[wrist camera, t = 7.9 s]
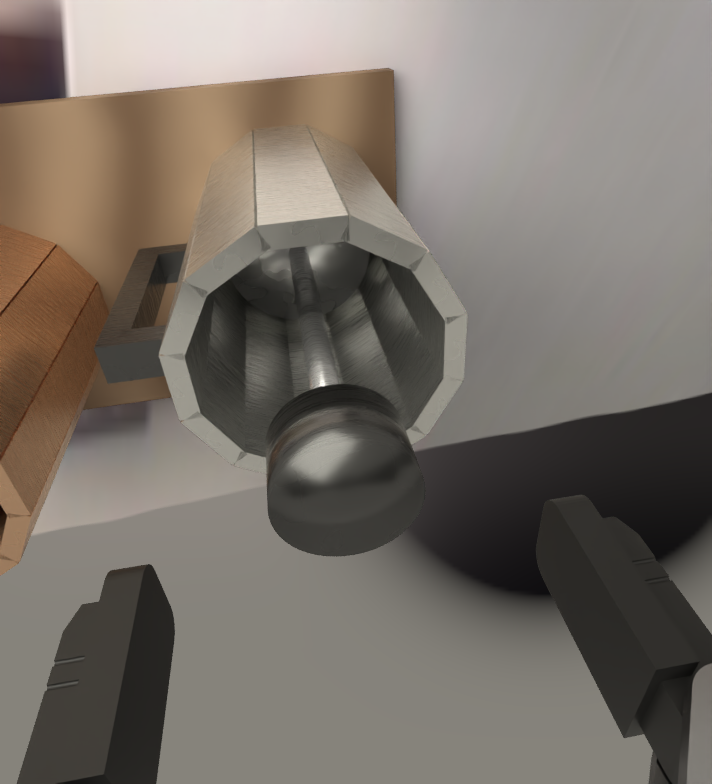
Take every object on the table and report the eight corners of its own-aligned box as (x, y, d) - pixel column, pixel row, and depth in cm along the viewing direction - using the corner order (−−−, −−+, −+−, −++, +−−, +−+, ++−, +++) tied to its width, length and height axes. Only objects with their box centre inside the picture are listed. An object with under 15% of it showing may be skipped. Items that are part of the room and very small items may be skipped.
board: (388, 68, 26) (393, 70, 25) (396, 354, 36) (400, 364, 35) (-201, 122, 24) (-220, 127, 23) (-29, 414, 33) (-37, 426, 32)
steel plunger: (363, 167, 24) (500, 360, 11) (370, 304, 28) (479, 569, 15) (210, 183, 23) (161, 409, 10) (239, 321, 27) (230, 614, 14)
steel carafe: (377, 116, 26) (474, 200, 15) (384, 295, 32) (459, 456, 20) (124, 142, 25) (22, 253, 14) (175, 322, 31) (132, 508, 19)
